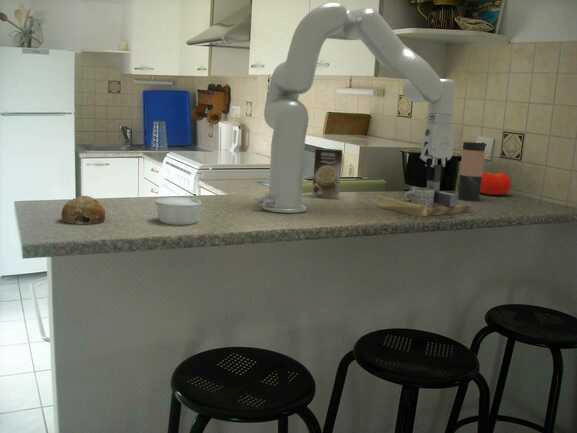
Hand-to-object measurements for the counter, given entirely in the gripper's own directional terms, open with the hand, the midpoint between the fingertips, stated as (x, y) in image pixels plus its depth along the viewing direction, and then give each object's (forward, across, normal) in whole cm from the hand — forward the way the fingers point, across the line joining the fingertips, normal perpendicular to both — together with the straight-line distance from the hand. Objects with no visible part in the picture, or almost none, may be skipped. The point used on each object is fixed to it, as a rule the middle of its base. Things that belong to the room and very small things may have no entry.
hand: (433, 179), depth 196 cm
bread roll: (+10, -104, +18) cm, 106 cm away
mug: (+10, -6, 0) cm, 12 cm away
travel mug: (+10, +30, +10) cm, 34 cm away
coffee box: (+10, -18, +30) cm, 37 cm away
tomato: (+10, +52, +16) cm, 55 cm away
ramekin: (+10, -83, +9) cm, 84 cm away
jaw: (+7, 0, 0) cm, 7 cm away
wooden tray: (+9, -3, 0) cm, 10 cm away
